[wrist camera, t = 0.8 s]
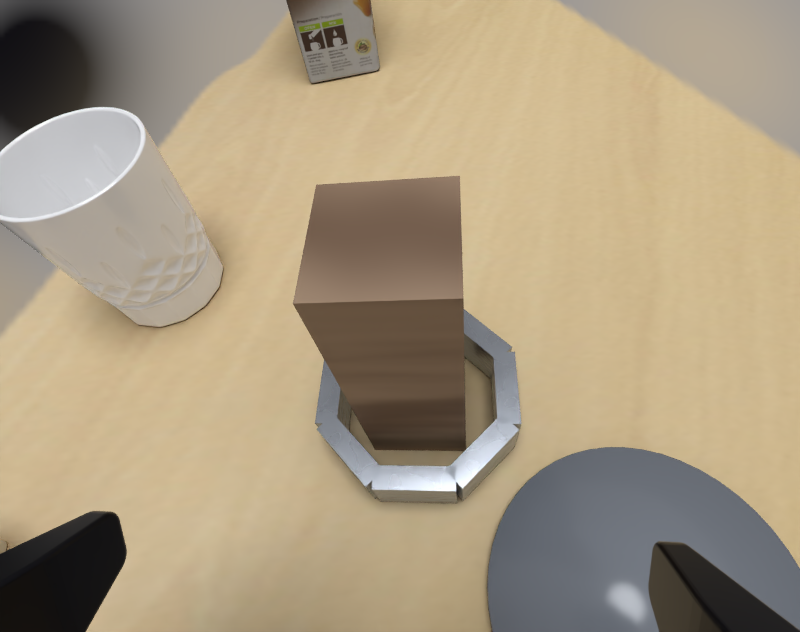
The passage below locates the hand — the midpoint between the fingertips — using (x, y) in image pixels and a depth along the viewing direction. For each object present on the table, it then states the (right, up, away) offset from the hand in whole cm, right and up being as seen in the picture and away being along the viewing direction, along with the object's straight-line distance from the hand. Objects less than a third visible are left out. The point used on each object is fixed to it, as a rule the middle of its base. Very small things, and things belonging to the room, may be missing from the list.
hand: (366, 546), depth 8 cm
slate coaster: (+10, -7, +11) cm, 17 cm away
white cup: (-14, +6, +23) cm, 28 cm away
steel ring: (+2, -1, +16) cm, 16 cm away
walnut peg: (+2, -1, +16) cm, 16 cm away
